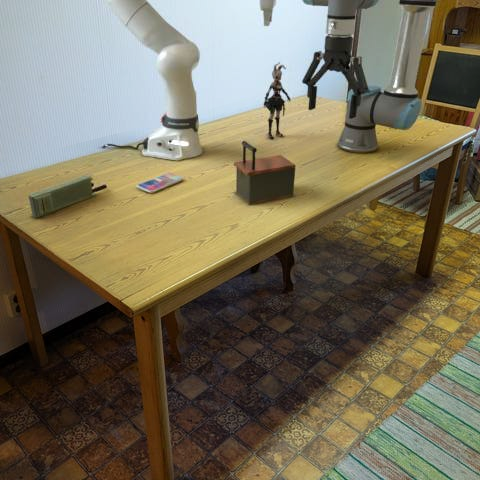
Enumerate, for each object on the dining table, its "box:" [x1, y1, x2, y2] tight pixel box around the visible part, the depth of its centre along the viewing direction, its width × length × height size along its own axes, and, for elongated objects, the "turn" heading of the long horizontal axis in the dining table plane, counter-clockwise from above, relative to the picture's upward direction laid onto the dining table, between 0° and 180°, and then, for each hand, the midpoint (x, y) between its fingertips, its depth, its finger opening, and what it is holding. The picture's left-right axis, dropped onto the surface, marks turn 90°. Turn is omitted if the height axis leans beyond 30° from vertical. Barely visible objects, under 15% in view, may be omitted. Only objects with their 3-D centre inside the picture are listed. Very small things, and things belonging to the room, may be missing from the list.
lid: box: [233, 140, 296, 176], centre depth 152 cm, size 16×9×8 cm, turn 115°
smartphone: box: [136, 172, 184, 194], centre depth 164 cm, size 7×1×15 cm
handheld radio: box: [28, 173, 108, 219], centre depth 150 cm, size 7×3×25 cm
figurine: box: [263, 61, 291, 140], centre depth 201 cm, size 15×6×30 cm, turn 132°
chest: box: [235, 167, 296, 205], centre depth 156 cm, size 15×9×10 cm, turn 115°
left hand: (267, 24), depth 161 cm, fingers open, 8 cm apart
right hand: (331, 113), depth 147 cm, fingers open, 13 cm apart
